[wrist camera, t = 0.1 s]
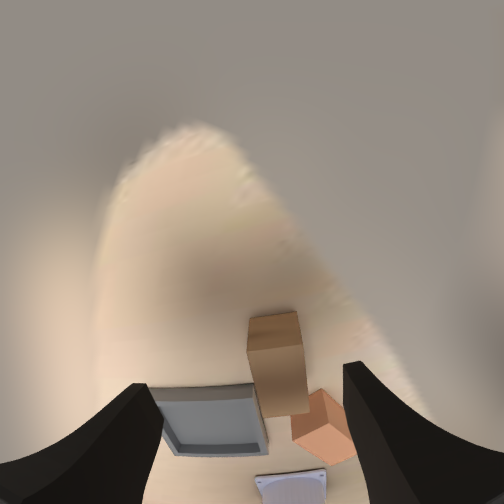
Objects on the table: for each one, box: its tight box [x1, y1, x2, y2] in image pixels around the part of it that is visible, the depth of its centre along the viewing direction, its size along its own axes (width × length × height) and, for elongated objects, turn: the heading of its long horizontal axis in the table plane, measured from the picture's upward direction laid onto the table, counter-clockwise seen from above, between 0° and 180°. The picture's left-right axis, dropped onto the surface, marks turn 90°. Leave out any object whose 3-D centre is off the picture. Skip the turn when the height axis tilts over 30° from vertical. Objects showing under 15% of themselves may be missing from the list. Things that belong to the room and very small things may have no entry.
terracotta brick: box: [291, 389, 357, 466], centre depth 21 cm, size 6×3×4 cm, turn 40°
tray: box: [149, 383, 269, 457], centre depth 22 cm, size 8×9×2 cm
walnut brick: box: [247, 311, 310, 418], centre depth 19 cm, size 6×3×4 cm, turn 10°
